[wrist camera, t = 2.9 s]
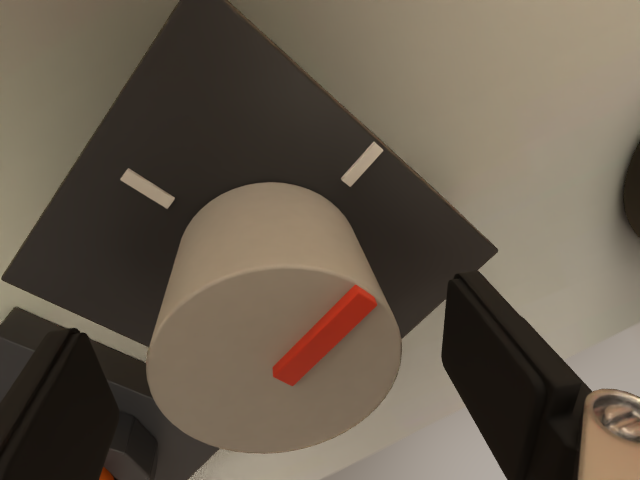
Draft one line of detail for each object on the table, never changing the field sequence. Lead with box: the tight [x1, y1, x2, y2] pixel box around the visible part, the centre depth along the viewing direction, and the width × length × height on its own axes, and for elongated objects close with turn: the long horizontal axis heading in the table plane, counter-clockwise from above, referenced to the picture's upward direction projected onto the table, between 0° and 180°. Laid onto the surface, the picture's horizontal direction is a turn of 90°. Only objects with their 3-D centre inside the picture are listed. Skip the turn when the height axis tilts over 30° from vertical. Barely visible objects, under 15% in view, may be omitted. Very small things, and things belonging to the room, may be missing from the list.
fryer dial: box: [146, 182, 402, 454], centre depth 11 cm, size 6×6×5 cm
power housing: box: [0, 307, 220, 480], centre depth 19 cm, size 11×10×4 cm
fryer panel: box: [2, 0, 498, 347], centre depth 15 cm, size 12×10×4 cm
